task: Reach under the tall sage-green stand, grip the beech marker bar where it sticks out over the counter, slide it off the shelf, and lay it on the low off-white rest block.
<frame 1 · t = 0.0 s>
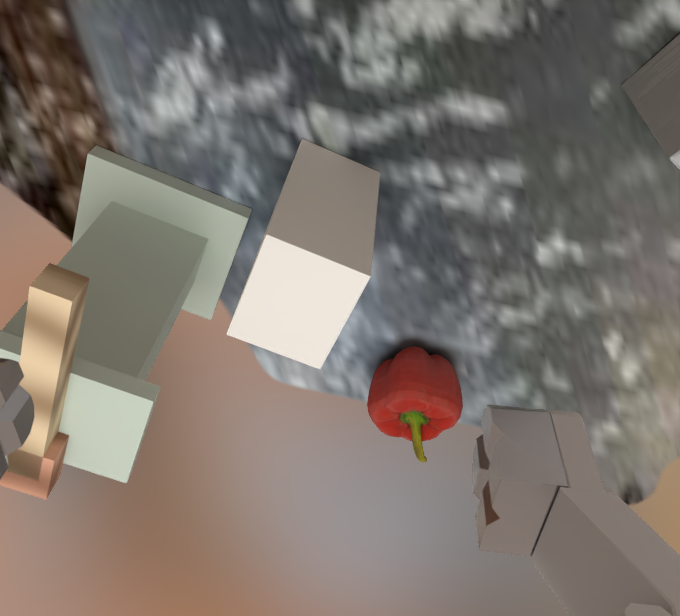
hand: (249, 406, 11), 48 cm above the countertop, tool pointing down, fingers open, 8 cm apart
skincare box: (674, 89, 53), on the countertop
marker bar: (51, 371, 42), point 26 cm above the countertop, touching shelf stand
rest block: (322, 199, 62), on the countertop
vegetable: (414, 368, 74), on the countertop
shelf stand: (160, 234, 66), on the countertop
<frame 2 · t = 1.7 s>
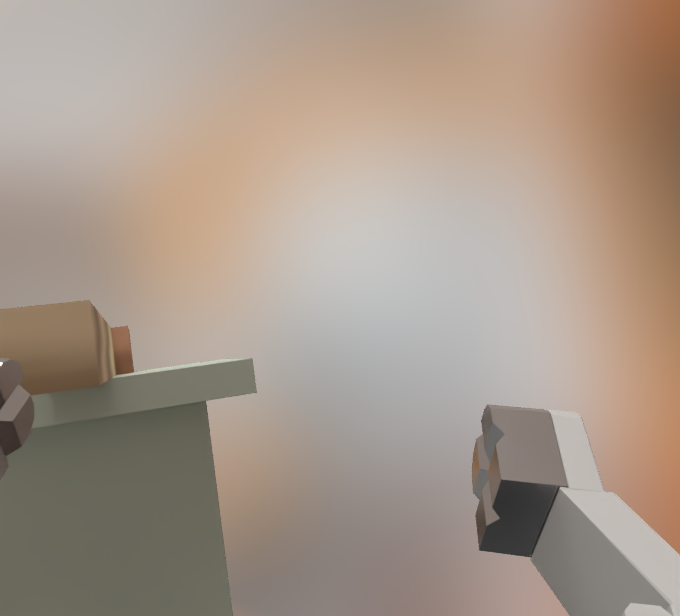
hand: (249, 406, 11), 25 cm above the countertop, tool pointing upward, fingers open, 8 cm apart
marker bar: (80, 382, 25), point 26 cm above the countertop, touching shelf stand
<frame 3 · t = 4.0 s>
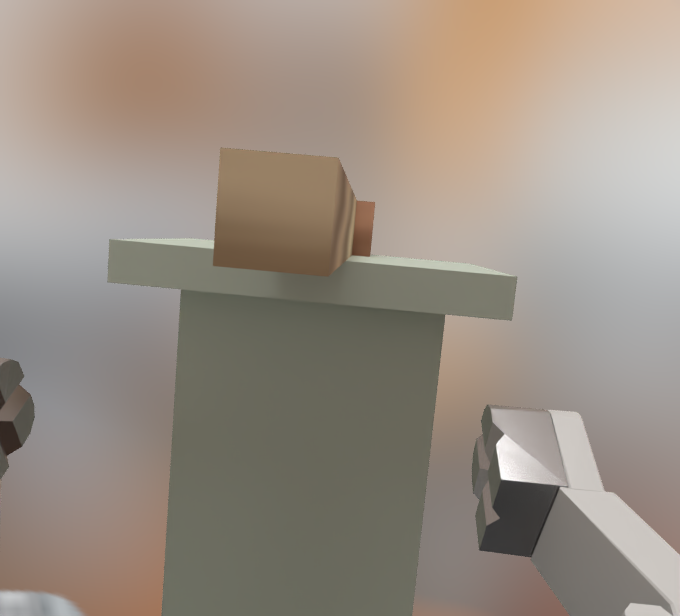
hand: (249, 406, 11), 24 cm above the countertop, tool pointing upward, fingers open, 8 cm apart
marker bar: (312, 257, 22), point 26 cm above the countertop, touching shelf stand
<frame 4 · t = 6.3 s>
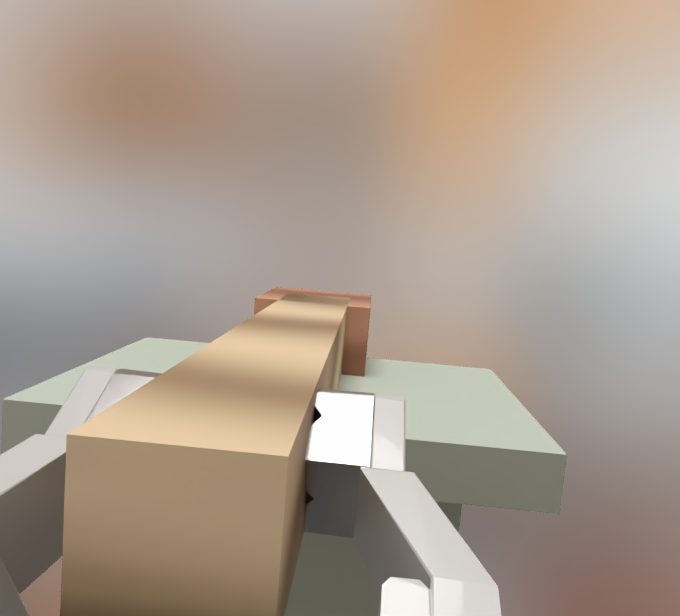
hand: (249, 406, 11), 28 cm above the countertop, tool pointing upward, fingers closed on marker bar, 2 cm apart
marker bar: (282, 420, 16), point 26 cm above the countertop, touching gripper, shelf stand
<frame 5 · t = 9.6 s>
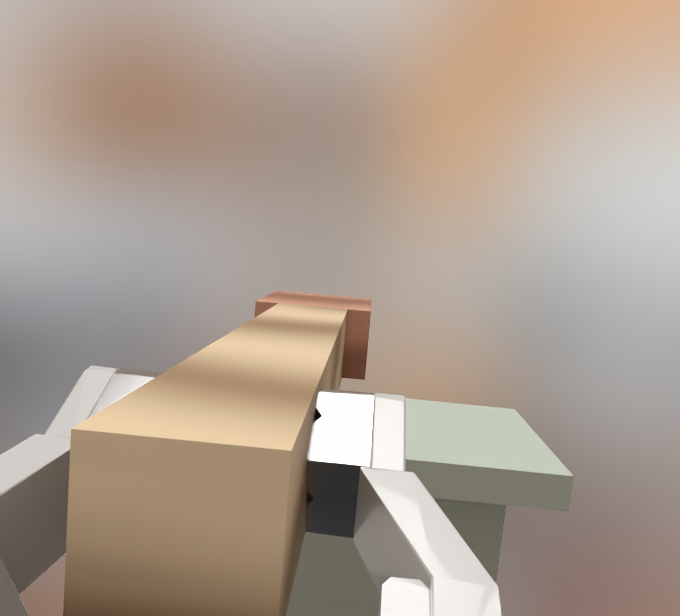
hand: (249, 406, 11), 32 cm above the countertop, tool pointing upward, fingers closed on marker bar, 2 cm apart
marker bar: (283, 422, 16), point 30 cm above the countertop, touching gripper
when the fingers open (21 cm above the countertop, at t = 13.3 s): marker bar drops 2 cm, resting on rest block.
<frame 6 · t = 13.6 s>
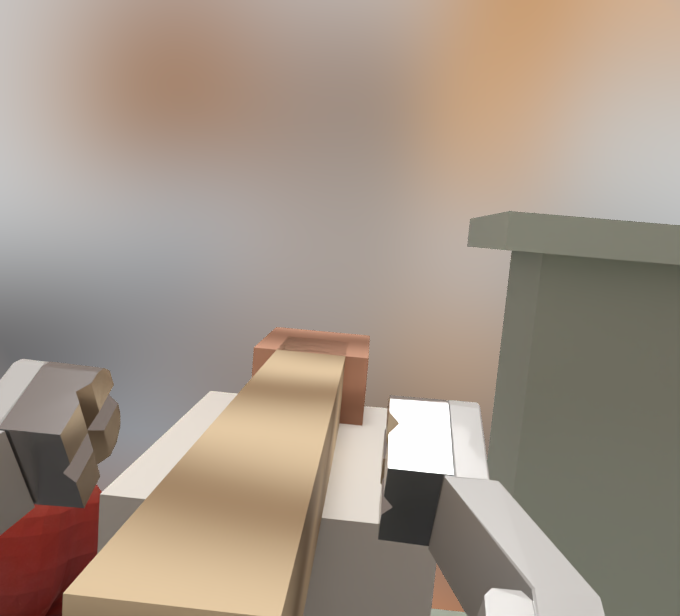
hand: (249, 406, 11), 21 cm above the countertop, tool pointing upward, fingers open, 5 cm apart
marker bar: (279, 487, 16), point 18 cm above the countertop, touching rest block
vegetable: (10, 615, 38), on the countertop
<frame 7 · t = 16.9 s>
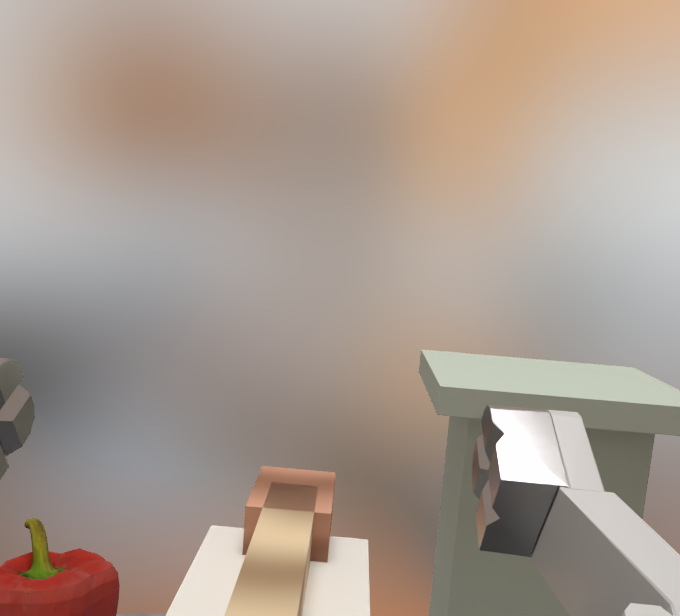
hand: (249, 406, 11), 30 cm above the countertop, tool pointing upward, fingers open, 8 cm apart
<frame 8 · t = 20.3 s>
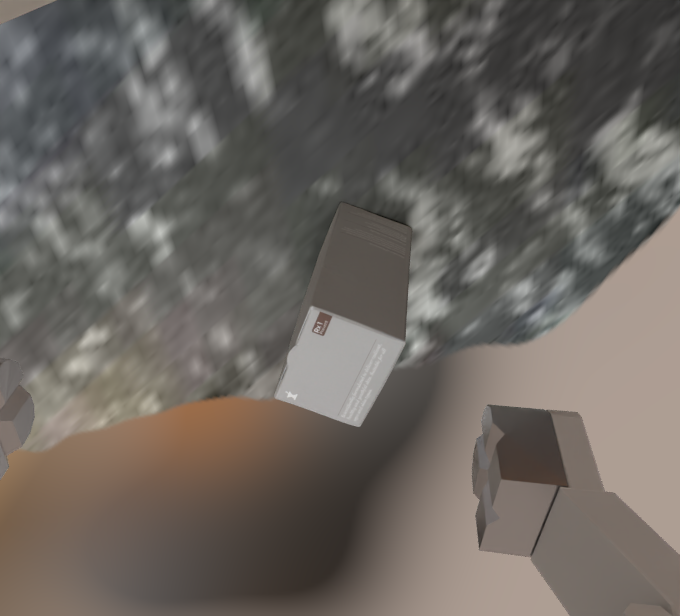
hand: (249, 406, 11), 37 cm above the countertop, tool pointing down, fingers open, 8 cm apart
skincare box: (357, 248, 52), on the countertop
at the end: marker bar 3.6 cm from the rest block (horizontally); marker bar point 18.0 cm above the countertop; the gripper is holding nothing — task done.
